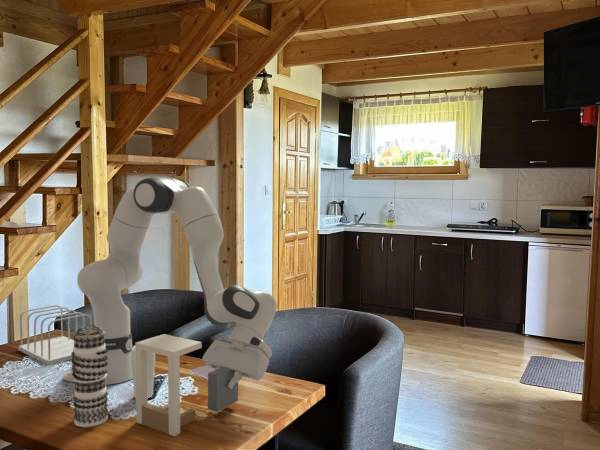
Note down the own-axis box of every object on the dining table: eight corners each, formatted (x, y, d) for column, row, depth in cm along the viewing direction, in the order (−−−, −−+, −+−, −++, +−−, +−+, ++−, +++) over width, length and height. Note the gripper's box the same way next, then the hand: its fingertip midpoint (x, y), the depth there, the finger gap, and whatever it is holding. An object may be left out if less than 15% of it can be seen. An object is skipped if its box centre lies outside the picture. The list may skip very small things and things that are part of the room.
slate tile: (229, 398, 152) (229, 364, 151) (237, 400, 151) (238, 366, 150) (207, 408, 145) (208, 373, 144) (216, 411, 143) (217, 375, 142)
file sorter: (18, 350, 200) (16, 310, 199) (63, 340, 214) (62, 302, 212) (48, 365, 184) (47, 321, 183) (95, 354, 197) (94, 312, 196)
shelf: (168, 407, 150) (168, 332, 149) (206, 419, 143) (205, 340, 141) (136, 422, 140) (135, 342, 139) (174, 436, 133) (173, 352, 131)
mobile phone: (206, 364, 185) (234, 374, 175) (206, 367, 185) (234, 377, 175) (188, 369, 179) (215, 380, 169) (188, 372, 179) (215, 383, 169)
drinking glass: (142, 403, 152) (142, 352, 151) (126, 398, 156) (126, 348, 155) (160, 396, 158) (159, 346, 157) (144, 391, 162) (144, 342, 161)
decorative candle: (102, 409, 148) (101, 321, 146) (114, 421, 141) (112, 328, 139) (68, 418, 143) (66, 326, 141) (78, 430, 135) (76, 334, 134)
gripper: (212, 330, 158) (188, 372, 150) (268, 343, 147) (245, 388, 139) (222, 341, 162) (199, 382, 154) (277, 354, 151) (255, 399, 143)
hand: (221, 385), depth 147 cm, fingers closed on slate tile, 3 cm apart
